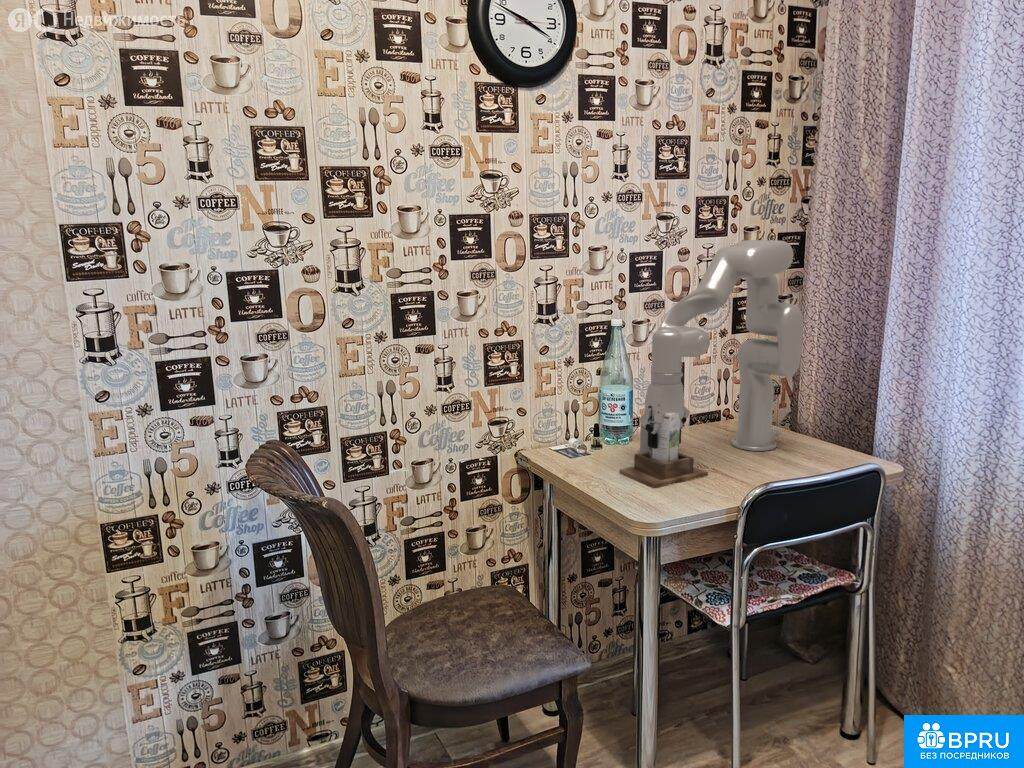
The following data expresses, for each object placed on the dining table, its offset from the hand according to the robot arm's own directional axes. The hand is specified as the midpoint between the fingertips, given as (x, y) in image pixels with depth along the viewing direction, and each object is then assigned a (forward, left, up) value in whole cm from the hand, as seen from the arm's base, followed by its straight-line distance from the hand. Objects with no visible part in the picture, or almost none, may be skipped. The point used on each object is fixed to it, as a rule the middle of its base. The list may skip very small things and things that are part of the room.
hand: (664, 444), depth 197 cm
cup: (-9, -14, -8) cm, 19 cm away
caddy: (0, 0, -8) cm, 8 cm away
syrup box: (0, 0, -6) cm, 6 cm away
